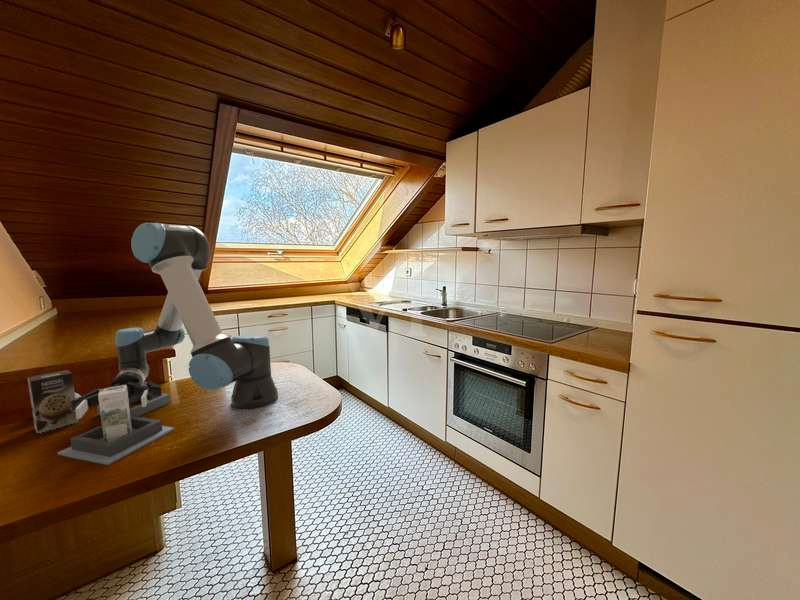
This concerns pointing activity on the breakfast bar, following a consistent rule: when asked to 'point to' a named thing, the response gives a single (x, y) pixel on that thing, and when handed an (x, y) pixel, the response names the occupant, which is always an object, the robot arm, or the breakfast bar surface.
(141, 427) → the gray flanged tray
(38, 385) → the dessert mix box
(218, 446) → the breakfast bar surface
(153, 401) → the gray open tray
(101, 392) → the syrup box
